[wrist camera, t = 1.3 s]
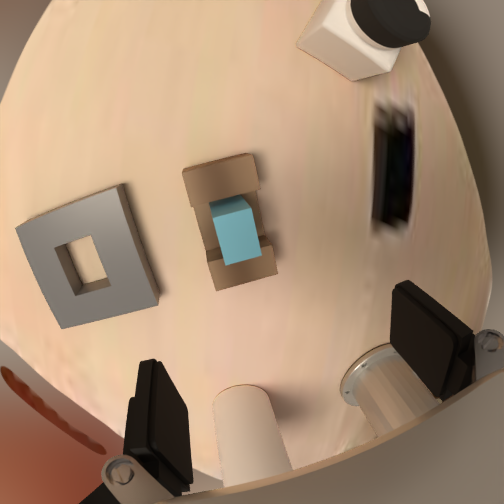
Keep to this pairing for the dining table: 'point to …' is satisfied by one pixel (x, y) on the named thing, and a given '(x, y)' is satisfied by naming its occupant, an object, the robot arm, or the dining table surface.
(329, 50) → the medicine bottle
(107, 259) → the port block
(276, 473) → the bottle
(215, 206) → the plug
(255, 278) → the brown notched block
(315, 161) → the dining table surface
